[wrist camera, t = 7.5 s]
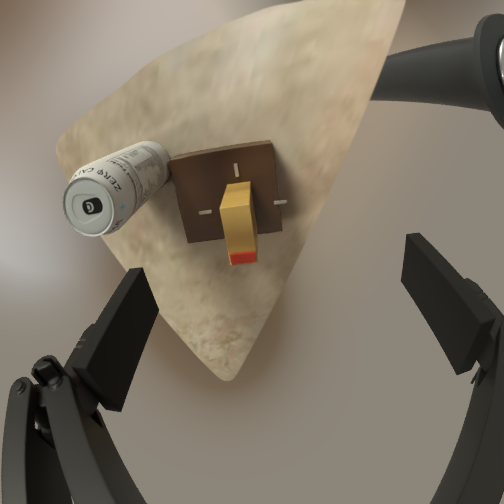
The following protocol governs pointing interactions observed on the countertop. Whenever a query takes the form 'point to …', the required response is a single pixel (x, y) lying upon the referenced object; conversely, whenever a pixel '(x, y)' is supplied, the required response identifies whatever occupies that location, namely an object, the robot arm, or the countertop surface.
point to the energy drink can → (114, 188)
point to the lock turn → (239, 223)
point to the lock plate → (215, 182)
